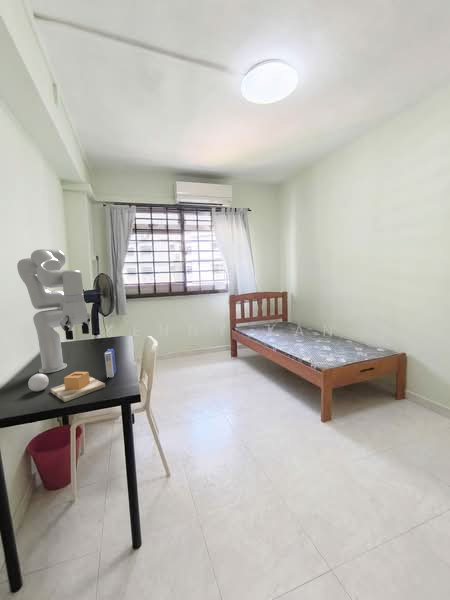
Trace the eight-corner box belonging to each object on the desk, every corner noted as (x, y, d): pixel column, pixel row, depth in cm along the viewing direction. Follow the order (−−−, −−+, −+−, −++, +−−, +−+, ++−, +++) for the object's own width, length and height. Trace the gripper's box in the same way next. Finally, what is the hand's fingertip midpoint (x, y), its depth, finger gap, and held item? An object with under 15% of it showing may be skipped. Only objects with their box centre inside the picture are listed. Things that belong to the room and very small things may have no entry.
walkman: (110, 372, 133) (107, 348, 132) (116, 371, 134) (113, 347, 133) (106, 378, 126) (104, 353, 124) (112, 377, 126) (110, 352, 125)
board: (50, 391, 114) (48, 378, 113) (89, 378, 126) (87, 366, 125) (64, 402, 103) (62, 387, 103) (105, 386, 115) (103, 373, 115)
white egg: (32, 388, 118) (29, 372, 117) (51, 385, 120) (49, 369, 120) (24, 398, 109) (21, 381, 108) (45, 394, 111) (43, 377, 110)
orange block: (65, 389, 112) (63, 377, 111) (76, 382, 118) (75, 371, 118) (79, 389, 110) (77, 377, 110) (89, 382, 117) (88, 371, 116)
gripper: (81, 296, 127) (84, 331, 129) (50, 301, 110) (55, 341, 112) (95, 296, 125) (98, 331, 127) (66, 301, 108) (70, 342, 111)
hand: (78, 336), depth 120 cm, fingers open, 9 cm apart
